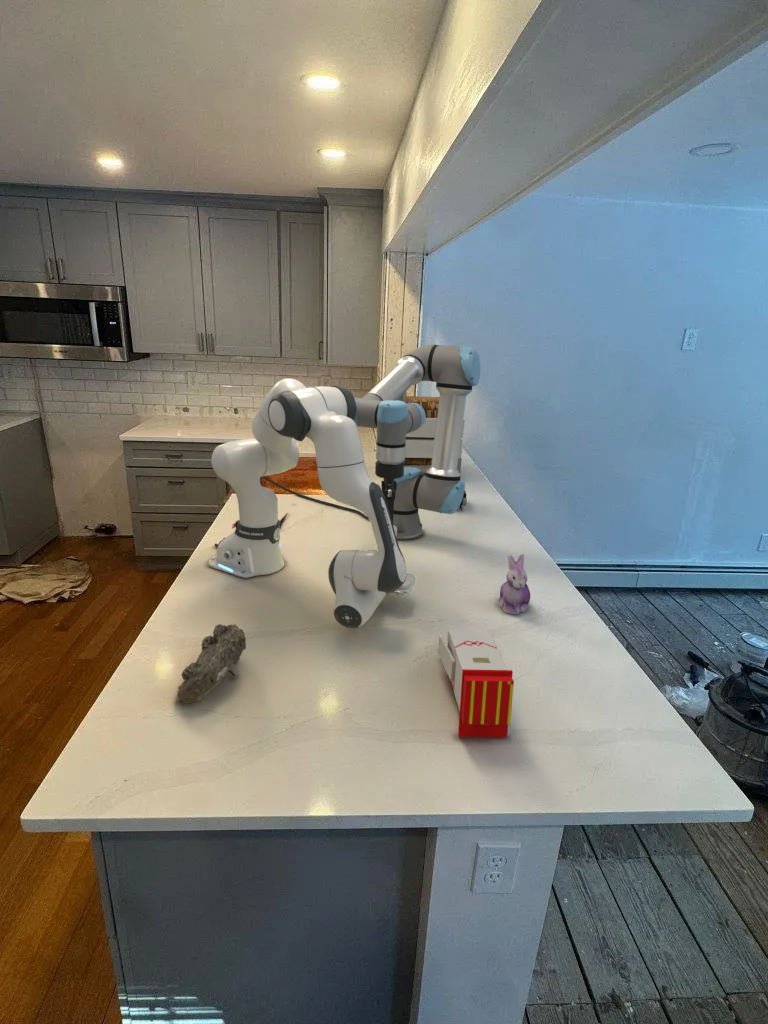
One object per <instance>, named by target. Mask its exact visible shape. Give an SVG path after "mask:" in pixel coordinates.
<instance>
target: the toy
mask: <svg viewBox="0 0 768 1024" xmlns="http://www.w3.org/2000/svg"><path fill="white" fill-rule="evenodd" d="M446 640H447V643H446V641H445V639H444V636H443V635H442V634H439V637H438V646H437V656H438V657H439V659H440V661H441V663H442V666H443V668H444V670H445V672H446V674H447V677H448V679H449V681H450V684H451V687H452V690H453V693H454V697H455V701H456V705H457V708H458V711H459V714H458V715H459V716H458V730H457V731H458V732H457V737H458V738H508V731H509V726H510V725H511V717H512V707H513V697H514V696H513V695H514V684H515V680H514V679H513V673H514V671H513V670H512V669H508V667H507V665H506V662H505V661H504V659H503V658H502V655H501V653H500V651H499V649H498V647H497V643H496V639H495V637H494V635H493V634H491V632H490V631H489V629H467V628H466V629H465V628H463V629H461V628H460V629H459V628H448V630H447V639H446Z"/></svg>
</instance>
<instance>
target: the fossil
mask: <svg viewBox="0 0 768 1024" xmlns="http://www.w3.org/2000/svg"><path fill="white" fill-rule="evenodd" d="M246 640H247V637H246V633H245V632H244V630H243V629H241V628H240V627H239V626H238V625H237V624H235V623H233V624H231V623H230V624H227V625H223V624H221V623H220V624H216V625H215V627H214V629H213V630H212V635H208V636H205V637H204V638H203V639H202V641H201V650H202V651H201V652H200V653H199V655H198V657H197V660H196V661H193V662H190V664H189V665H187V666H186V667H185V668H184V669H183V670H182V672H181V674H180V675H181V677H182V680H183V682H182V683H181V684H180V685H179V686H178V687H177V689H178V690H177V691H176V692H177V698H178V699H177V700H178V701H179V702H180V701H181V702H183V703H185V704H187V703H192V702H196V701H197V702H200V701H201V700H202V699H203V698H204V697H205V696H206V695H207V694H209V693H210V692H211V691H212V690H213V689H214V688H215V687H216V686H217V685H218V684H219V683H220V682H222V680H223V679H224V677H225V675H227V674H228V673H229V674H230V675H231V676H232V677H236V674H235V673H234V672H233V671H232V670H231V669H232V667H233V666H234V665H236V664H237V663H238V661H239V660H240V659H241V656H242V654H243V652H244V650H246V649H247V641H246Z"/></svg>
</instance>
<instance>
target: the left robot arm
mask: <svg viewBox="0 0 768 1024" xmlns="http://www.w3.org/2000/svg"><path fill="white" fill-rule="evenodd" d="M354 398H355V397H354V395H353V393H352V392H351V390H349V389H348V388H346V387H345V386H339V385H329V386H320V385H319V386H318V385H317V386H308V387H306V385H305V384H304V383H303V382H301V381H299V380H298V379H295V378H290V377H288V378H287V377H286V378H282V379H281V380H279V381H278V382H276V383H275V384H274V385H273V387H271V389H270V390H269V391H268V393H267V394H266V396H265V397H264V398H263V400H262V402H261V404H260V405H259V408H258V410H257V412H256V414H255V416H254V418H253V420H252V422H251V432H252V435H253V438H252V437H251V438H244V439H236V440H230V441H228V442H224V443H222V444H219V445H216V446H215V448H214V449H213V452H212V454H211V458H210V459H211V460H210V461H211V467H212V469H213V471H214V473H215V474H216V475H217V477H218V478H220V480H222V481H224V482H226V483H227V484H228V485H229V486H230V487H231V488H232V490H233V491H234V493H235V495H236V498H237V504H238V505H237V506H238V515H239V517H238V518H239V519H238V520H236V521H235V522H234V523H233V524H231V526H232V527H231V529H232V530H233V529H234V528H235V529H234V532H232V533H230V534H229V535H227V536H226V537H223V538H222V539H221V540H220V541H219V542H218V543H214V547H216V552H215V554H214V555H213V556H212V557H211V558H209V560H208V567H211V568H213V569H216V570H219V571H222V572H225V573H228V574H231V575H234V576H237V577H240V578H244V579H247V578H253V577H256V576H264V575H271V574H275V573H276V572H279V571H280V570H282V569H283V568H284V567H285V559H284V557H283V554H282V544H281V543H280V539H281V526H280V519H279V504H278V503H279V502H278V497H277V494H276V493H275V492H274V491H273V490H272V489H270V488H267V487H265V486H263V485H262V484H261V478H262V477H264V476H265V477H267V476H272V475H277V474H278V475H279V474H283V473H286V472H287V471H290V470H292V469H295V467H296V466H297V465H298V463H299V460H300V449H299V446H298V444H297V443H296V441H297V442H303V441H304V440H305V439H306V438H308V439H309V440H310V441H311V442H312V443H313V445H314V450H315V461H316V470H317V476H318V481H319V485H320V488H321V489H322V490H323V492H324V493H325V494H326V495H327V496H328V497H329V498H331V499H332V500H334V501H336V502H338V503H340V504H343V505H346V506H349V507H352V508H353V509H354V508H355V510H357V511H360V512H361V513H363V514H364V515H365V516H367V517H368V518H369V520H368V521H369V522H370V524H371V528H372V532H373V535H374V539H375V542H376V547H377V546H378V550H377V549H375V550H374V549H369V550H368V549H364V550H363V549H362V550H361V549H342V550H339V551H338V552H337V553H336V554H334V557H332V559H331V562H330V563H329V566H328V571H327V572H328V581H329V585H330V587H331V590H332V592H333V593H334V595H335V602H334V605H333V610H332V613H333V618H334V620H335V621H336V622H337V623H338V624H339V625H341V626H342V627H344V628H347V629H357V628H361V627H362V626H363V625H365V624H366V623H367V622H368V621H369V620H370V618H371V617H372V616H373V614H374V613H375V611H376V609H377V608H378V606H380V604H381V602H382V601H383V600H384V599H385V597H386V595H390V596H391V595H392V596H396V597H406V596H409V595H410V594H411V593H412V592H413V590H414V589H415V587H416V576H415V575H414V574H412V573H407V572H408V571H407V566H406V561H405V557H404V555H403V552H402V551H401V547H400V545H399V542H398V540H397V538H396V534H395V531H394V527H393V524H392V520H391V516H390V513H389V510H388V506H387V503H386V500H385V497H384V494H383V492H382V487H381V485H379V484H377V483H375V482H374V481H373V480H372V478H371V476H370V475H369V473H368V471H367V468H366V464H365V457H364V449H363V445H362V439H361V437H360V436H361V435H360V432H359V430H358V426H356V424H355V422H354V419H355V416H356V402H355V399H354Z"/></svg>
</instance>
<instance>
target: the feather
mask: <svg viewBox="0 0 768 1024" xmlns="http://www.w3.org/2000/svg"><path fill="white" fill-rule="evenodd" d="M287 515H288V513H286V514H285V515H284V516H283V517H282V518H281V519H279V522H280V527H282V524H283V522H284V521H285V519H286V518H287Z"/></svg>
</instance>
